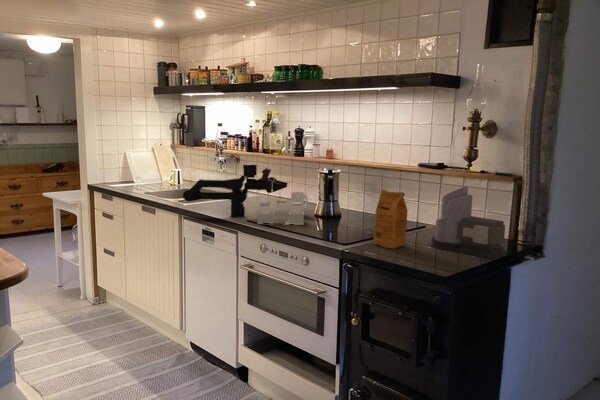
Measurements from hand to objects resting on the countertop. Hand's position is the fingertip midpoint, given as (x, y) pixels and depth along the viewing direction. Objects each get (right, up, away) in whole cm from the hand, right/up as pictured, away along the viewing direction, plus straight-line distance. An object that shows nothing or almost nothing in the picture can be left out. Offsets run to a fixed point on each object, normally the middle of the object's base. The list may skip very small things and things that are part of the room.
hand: (287, 184), depth 262 cm
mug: (+6, -16, +9) cm, 19 cm away
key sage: (+5, -15, -12) cm, 20 cm away
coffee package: (+42, -26, -57) cm, 75 cm away
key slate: (-10, -15, -14) cm, 23 cm away
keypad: (-3, -18, -8) cm, 20 cm away
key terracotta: (-3, -14, -4) cm, 15 cm away
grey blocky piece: (+71, -27, -61) cm, 98 cm away
